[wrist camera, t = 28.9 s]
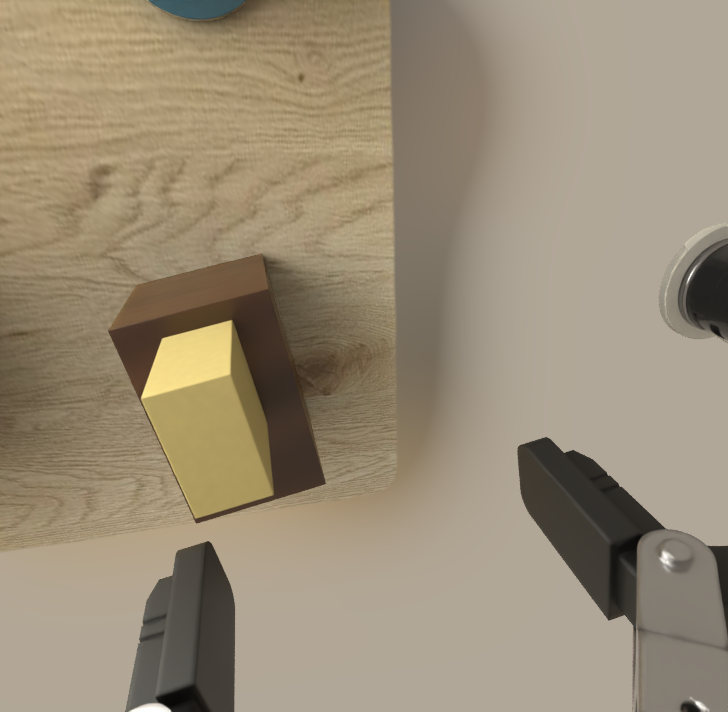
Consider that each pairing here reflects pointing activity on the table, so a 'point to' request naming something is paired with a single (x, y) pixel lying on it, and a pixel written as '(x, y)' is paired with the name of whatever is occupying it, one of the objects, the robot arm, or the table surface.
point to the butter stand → (260, 346)
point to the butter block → (210, 419)
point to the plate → (198, 8)
